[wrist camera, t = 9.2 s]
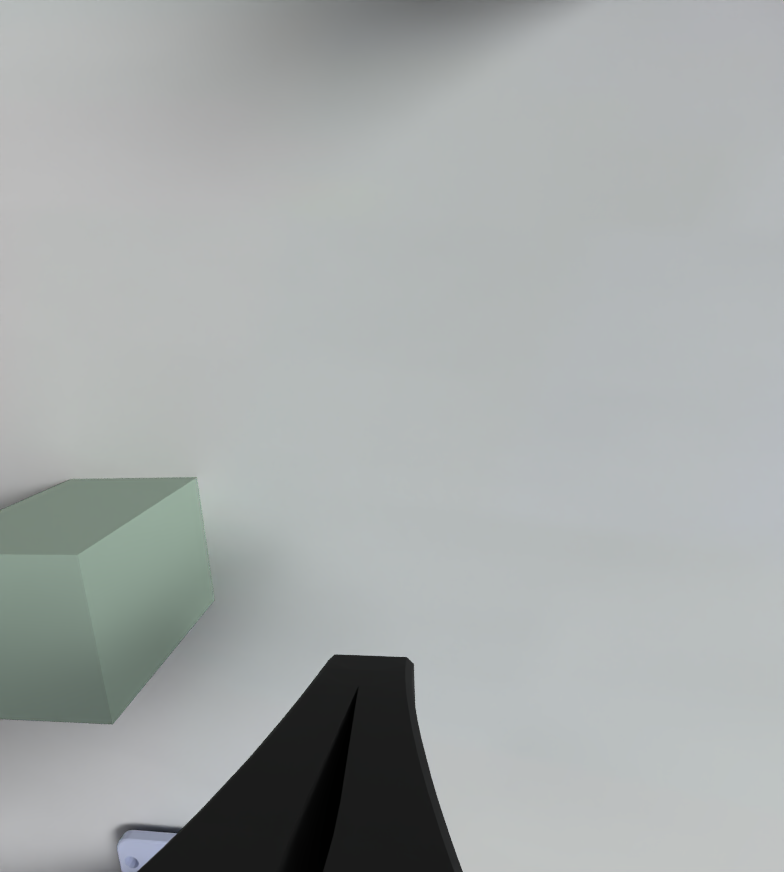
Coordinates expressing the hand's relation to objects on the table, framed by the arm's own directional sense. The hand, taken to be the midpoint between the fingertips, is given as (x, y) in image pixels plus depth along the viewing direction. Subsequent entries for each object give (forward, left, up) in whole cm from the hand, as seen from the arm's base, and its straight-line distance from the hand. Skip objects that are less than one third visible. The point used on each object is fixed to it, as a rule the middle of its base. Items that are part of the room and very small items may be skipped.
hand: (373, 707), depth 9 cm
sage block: (0, +8, -7) cm, 10 cm away
